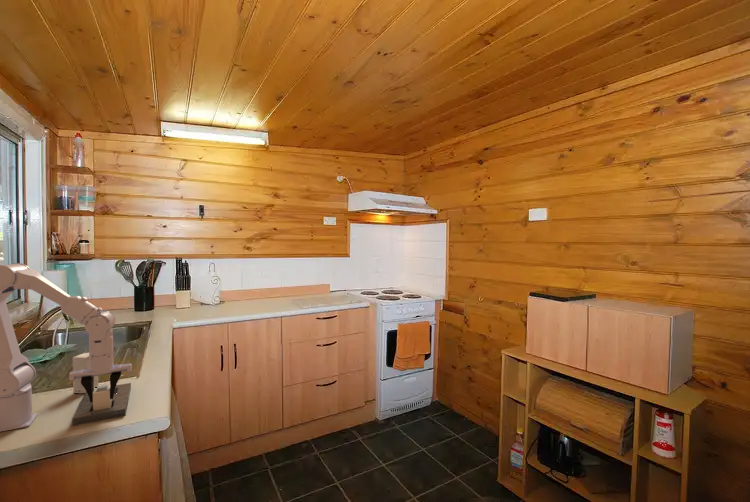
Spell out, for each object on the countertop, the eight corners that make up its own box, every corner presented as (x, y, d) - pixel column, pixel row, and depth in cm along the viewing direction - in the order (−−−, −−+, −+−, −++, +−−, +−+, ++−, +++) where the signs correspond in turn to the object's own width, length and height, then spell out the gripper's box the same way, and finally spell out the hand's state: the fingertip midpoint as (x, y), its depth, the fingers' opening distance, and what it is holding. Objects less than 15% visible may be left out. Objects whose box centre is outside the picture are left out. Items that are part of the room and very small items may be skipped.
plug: (93, 413, 106) (92, 390, 106) (95, 408, 109) (94, 385, 109) (110, 410, 108) (109, 387, 108) (111, 405, 111) (111, 383, 111)
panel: (72, 425, 101) (72, 418, 101) (86, 396, 120) (86, 390, 120) (125, 415, 107) (125, 408, 107) (130, 388, 126) (130, 382, 126)
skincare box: (86, 393, 121) (85, 357, 121) (72, 394, 121) (71, 357, 121) (99, 386, 127) (98, 351, 127) (85, 386, 127) (85, 352, 127)
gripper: (131, 346, 115) (132, 389, 115) (72, 353, 108) (73, 399, 108) (130, 352, 109) (131, 398, 109) (67, 360, 102) (68, 409, 102)
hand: (102, 399), depth 108 cm, fingers closed on plug, 4 cm apart
